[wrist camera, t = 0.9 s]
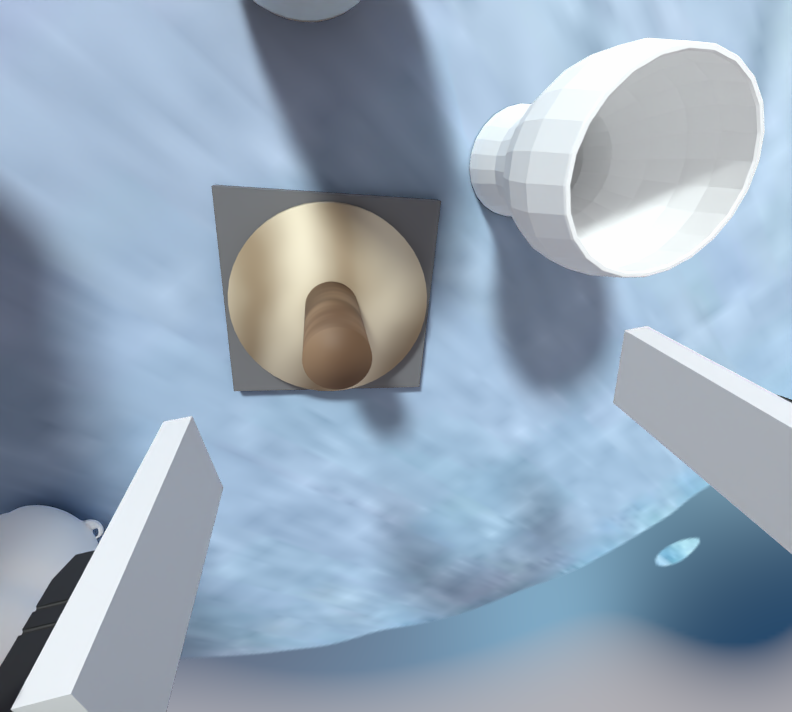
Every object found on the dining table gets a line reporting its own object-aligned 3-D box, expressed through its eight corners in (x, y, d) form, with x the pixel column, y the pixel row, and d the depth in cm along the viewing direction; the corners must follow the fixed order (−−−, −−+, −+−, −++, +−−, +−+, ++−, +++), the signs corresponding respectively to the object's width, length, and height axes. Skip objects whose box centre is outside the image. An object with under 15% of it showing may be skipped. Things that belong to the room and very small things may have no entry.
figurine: (76, 472, 37) (-21, 603, 26) (140, 540, 41) (80, 674, 31) (-31, 510, 36) (-172, 658, 26) (46, 574, 41) (-47, 722, 31)
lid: (239, 385, 35) (213, 469, 26) (220, 194, 28) (176, 215, 19) (414, 382, 37) (445, 455, 28) (433, 207, 31) (482, 232, 22)
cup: (602, 179, 33) (793, 199, 20) (492, 260, 35) (602, 329, 21) (549, 43, 28) (754, -49, 15) (423, 144, 30) (511, 141, 16)
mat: (236, 385, 36) (234, 391, 35) (214, 184, 29) (211, 186, 28) (416, 381, 39) (419, 386, 38) (437, 199, 32) (441, 201, 31)
